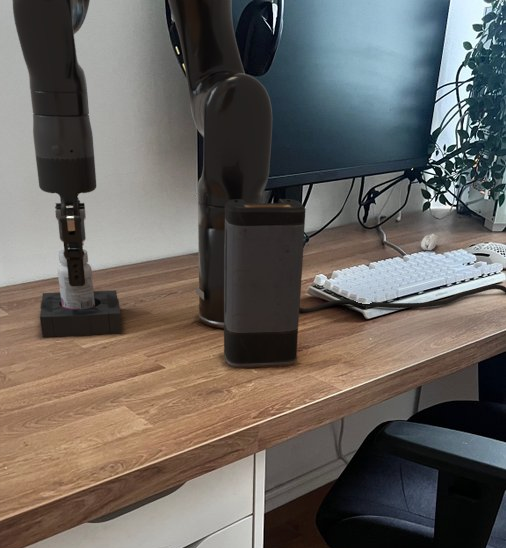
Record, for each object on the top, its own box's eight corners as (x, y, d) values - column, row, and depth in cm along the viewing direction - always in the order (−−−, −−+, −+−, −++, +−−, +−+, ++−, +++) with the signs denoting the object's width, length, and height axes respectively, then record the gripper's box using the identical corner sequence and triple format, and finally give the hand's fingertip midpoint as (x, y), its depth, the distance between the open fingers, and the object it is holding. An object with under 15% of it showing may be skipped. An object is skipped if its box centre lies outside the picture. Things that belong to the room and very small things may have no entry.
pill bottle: (64, 304, 103) (58, 247, 99) (96, 304, 104) (92, 247, 99) (59, 314, 99) (53, 256, 95) (93, 314, 100) (88, 256, 95)
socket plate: (118, 308, 108) (116, 289, 107) (122, 333, 99) (121, 313, 97) (44, 311, 106) (42, 292, 105) (41, 337, 97) (38, 317, 95)
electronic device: (288, 349, 95) (297, 198, 85) (298, 366, 90) (309, 207, 80) (222, 352, 94) (223, 198, 84) (228, 369, 89) (229, 208, 79)
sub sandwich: (439, 245, 150) (441, 232, 149) (432, 253, 144) (434, 240, 143) (424, 243, 151) (426, 230, 150) (417, 251, 145) (419, 238, 144)
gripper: (95, 159, 85) (106, 294, 94) (92, 145, 97) (101, 266, 106) (32, 159, 84) (49, 296, 92) (37, 145, 96) (51, 267, 104)
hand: (77, 279), depth 99 cm, fingers closed on pill bottle, 4 cm apart
